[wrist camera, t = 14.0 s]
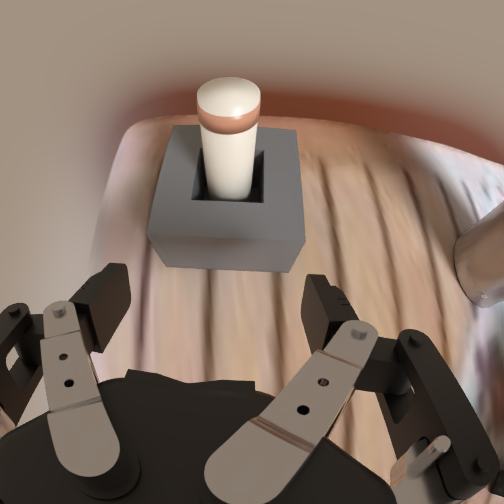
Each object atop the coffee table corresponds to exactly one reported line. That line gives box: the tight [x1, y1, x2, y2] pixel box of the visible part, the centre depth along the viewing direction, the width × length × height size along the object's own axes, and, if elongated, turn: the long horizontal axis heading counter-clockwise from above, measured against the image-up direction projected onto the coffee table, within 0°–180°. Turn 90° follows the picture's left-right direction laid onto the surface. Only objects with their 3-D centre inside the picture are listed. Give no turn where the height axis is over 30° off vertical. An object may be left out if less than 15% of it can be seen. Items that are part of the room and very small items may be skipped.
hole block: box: [146, 125, 306, 273], centre depth 22 cm, size 10×10×6 cm
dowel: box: [197, 77, 261, 202], centre depth 18 cm, size 3×3×12 cm
